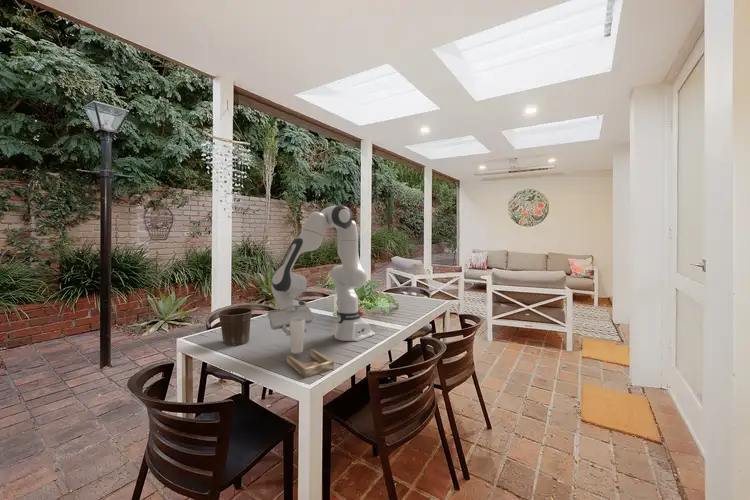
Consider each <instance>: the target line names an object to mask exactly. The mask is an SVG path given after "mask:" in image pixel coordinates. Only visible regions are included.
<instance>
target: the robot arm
mask: <svg viewBox="0 0 750 500" xmlns="http://www.w3.org/2000/svg"><path fill="white" fill-rule="evenodd" d="M328 228H335V229H336V232H337V256H338V257H339V259H340V261H341V264H338V265H337V264H336V265H335V266H333V267H332V268H331V270H330V273H329V274H330V278H331V281H332V282H333V284H334V286H335V287H334V288H335V291H336V299H337V310H336V328H335V332H334V339H336V340H338V341H344V342H350V341H351V342H359V341H362V340H364V339H367V338H369V337H372V335H373V336H374V335H375V332H374V331H373V330H371V326H370V323H369V322H368V321H366V320H365V319H364V318H362V316H364V315H365V311H361V310H359V297H358V294H357V293H356V291H355V288H361V287H363V286H365V284H366V283H367V280H368V274H367V272H366V270H364V268H363V266H362V263H361V260H360V256H359V232H358V226H357V222H356V221H355V220H353V216H352V212H351V210H350V208H349V207H347V206H346V205H339V204H338V205H331V206H326V207H323V208H322V209H321V210H319V211H313V212H310V213H309V214H308V216H307V217H306V220H305V222H304V224H303V226H302V228H301V232H300V234H299V235H298V237H297V238H295V239H294V240H292V241H291V243H290V245H289V246H288V248H287V250H286V252H285V254H284V256H283V258H282V260H281V261H280V263H279V266H278V267H277V268H276V270H275V271H274V273H273V274H272V276H271V292H272V296H273V299H274V300H275V302H276V308H277V309H274V310H273V309H272V310H269V311H268V312H267V318H268V319H269V324H270V325H269V326H270V328H271V330H273V331H276V330H280V329H281V330H282V332H284V333H285V335H286V336H287V337H290V329H288V328H289V325H290V319H292V318H304V319H305V331H304V333H306V332H307V324H311V323H312V322H313V320H314V318H315V316H314V314H313V312H312V310H311V309H310V307H309V306H308V303H307V302H306V301H304V300H297V299H296V297H298V296H301V295H302V294H303V293H304V292H305V291H307V289H308V283H309V282H308V280H307V277H306V276H304V275H303V274H301V273H296V272H293V271H292V270H293V268H294V266H295V264H296V261H297V260H298V258H299V256H301V254H303V253H306V252H313V251H316V250H318V249H319V247H321V246H322V245H321V244H322V243H323V239H324V237H325V234H326V231H327V229H328Z"/></svg>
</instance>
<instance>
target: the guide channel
mask: <svg viewBox="0 0 750 500" xmlns="http://www.w3.org/2000/svg"><path fill="white" fill-rule="evenodd" d="M309 351H310V352H309V353H310V356H309V357H311V358H312V359H314V360H316V361H312V362H311V361H310V362H306V363H302V362H300V361H299V360H297V359H296V358H295V357H293V356H292V355H289V354H288V355H286V364H288V365H289V366H290V367H291V368H293V369H294V370H295V371H297V372H298V373H299V374H300V375H302V376H303V377H304V378H308V377H311V376H314V375H317V374H320V373H324V372H326V371H331V370H334V369H335V362H334V361H333V359H330V358H329V357H327V356H326V355H324V354H322V353H321V352H318V351H317V350H316V349H314V348H312V349H310V350H309Z"/></svg>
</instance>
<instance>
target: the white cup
mask: <svg viewBox="0 0 750 500" xmlns="http://www.w3.org/2000/svg"><path fill="white" fill-rule="evenodd" d="M288 329H289V330H290V336H289V338H290V339H289V340H290V353H292V354H295V355H297V354H298V355H299V354H301V353H302V352H303V351H304V340H305V332H304V331H305V319H304V318H292V319H290V325H289V327H288Z"/></svg>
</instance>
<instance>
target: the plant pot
mask: <svg viewBox="0 0 750 500" xmlns="http://www.w3.org/2000/svg"><path fill="white" fill-rule="evenodd" d="M252 314H253V309H252V308H251V307H231V308H226V309H222V310H220V311H218V312H217V315H218V319H219V321H220V327H221V335H222V343H223V345H224V346H228V347H229V346H231V347H232V346H241V345H244V344H246V343H247V344H248V342H249V341H250V330H251V319H252Z"/></svg>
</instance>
